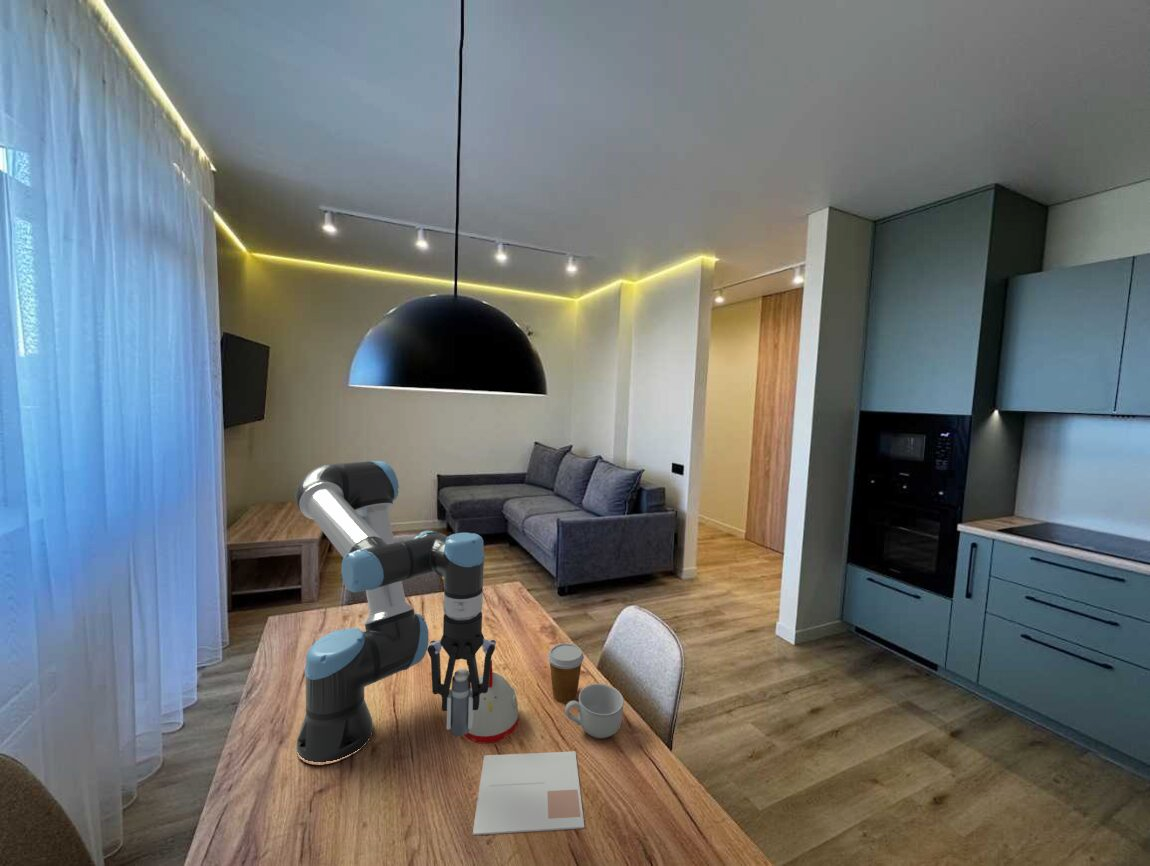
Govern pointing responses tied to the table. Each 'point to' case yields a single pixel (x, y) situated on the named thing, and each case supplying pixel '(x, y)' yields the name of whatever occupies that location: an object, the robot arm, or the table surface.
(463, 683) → the marker
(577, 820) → the paper
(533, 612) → the table surface
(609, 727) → the teacup
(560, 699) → the disposable coffee cup
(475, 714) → the kitchen timer
